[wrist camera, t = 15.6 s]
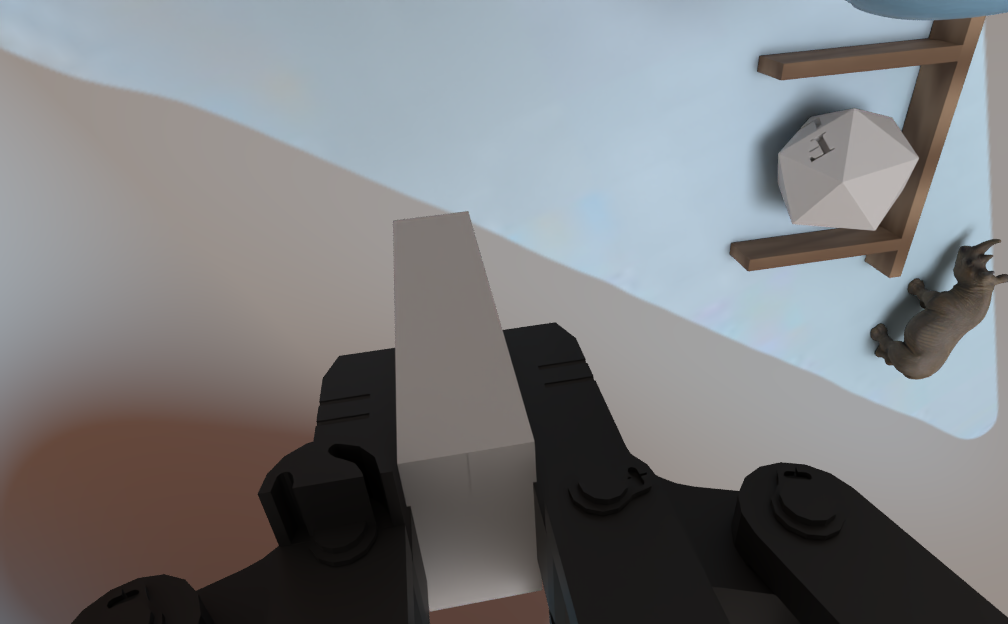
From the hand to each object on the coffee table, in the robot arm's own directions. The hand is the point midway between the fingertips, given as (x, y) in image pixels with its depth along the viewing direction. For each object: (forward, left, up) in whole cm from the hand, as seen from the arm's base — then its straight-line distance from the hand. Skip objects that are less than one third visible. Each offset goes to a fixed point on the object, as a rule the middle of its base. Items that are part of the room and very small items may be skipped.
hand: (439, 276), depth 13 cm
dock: (+10, +30, -29) cm, 43 cm away
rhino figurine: (+24, +42, -30) cm, 57 cm away
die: (+10, +29, -30) cm, 42 cm away
